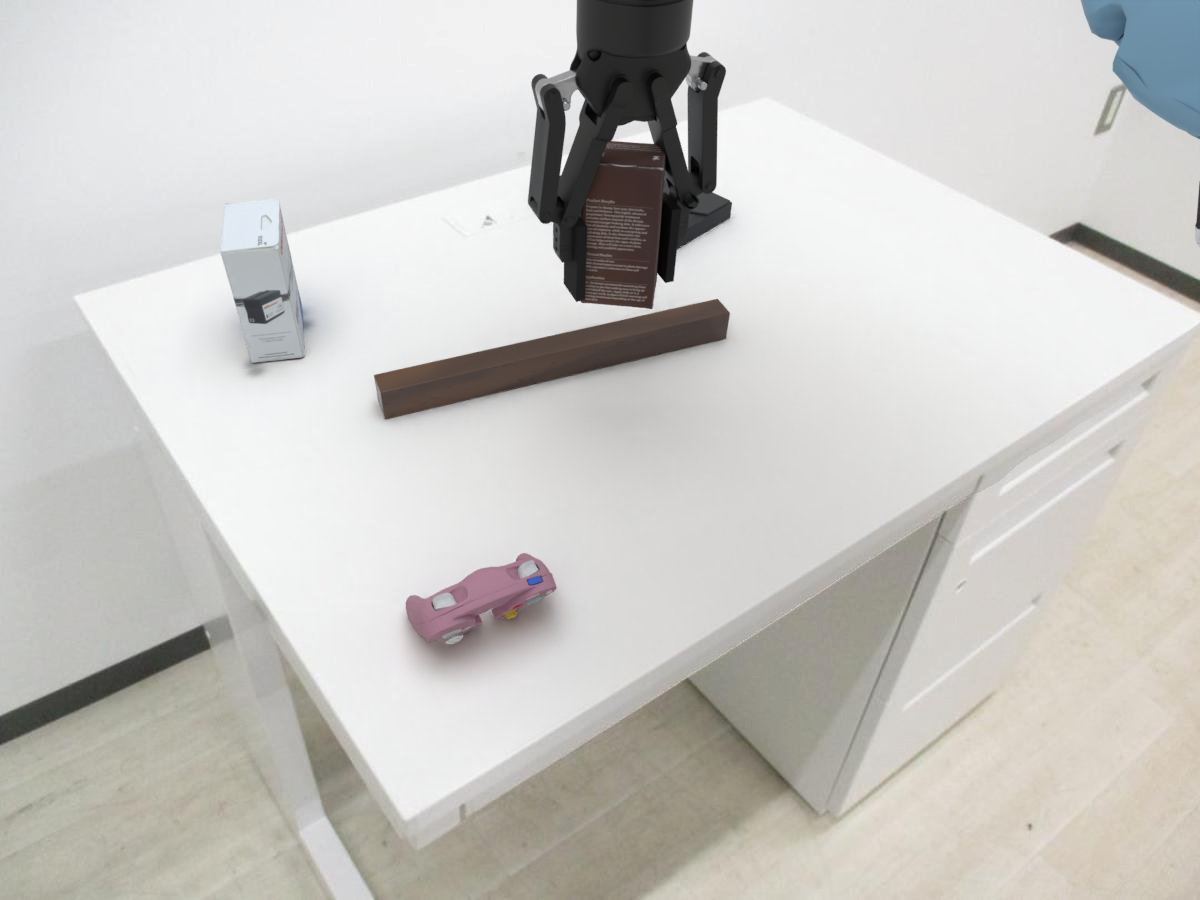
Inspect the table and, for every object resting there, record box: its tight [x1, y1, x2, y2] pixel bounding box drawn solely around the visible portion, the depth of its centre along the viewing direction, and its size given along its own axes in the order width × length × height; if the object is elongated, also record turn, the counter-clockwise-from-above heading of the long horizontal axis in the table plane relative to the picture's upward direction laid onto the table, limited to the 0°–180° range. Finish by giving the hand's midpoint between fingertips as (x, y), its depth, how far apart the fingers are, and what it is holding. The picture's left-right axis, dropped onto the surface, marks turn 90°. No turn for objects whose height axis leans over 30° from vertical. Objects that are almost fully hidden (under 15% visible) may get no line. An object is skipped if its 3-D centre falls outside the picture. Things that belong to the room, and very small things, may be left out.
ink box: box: [219, 198, 306, 363], centre depth 85 cm, size 8×5×12 cm, turn 13°
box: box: [580, 140, 665, 310], centre depth 72 cm, size 6×4×12 cm
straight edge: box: [373, 298, 731, 420], centre depth 85 cm, size 2×33×3 cm, turn 113°
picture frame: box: [559, 174, 733, 250], centre depth 107 cm, size 13×2×18 cm
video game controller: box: [405, 552, 558, 645], centre depth 64 cm, size 10×5×7 cm, turn 118°
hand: (619, 281), depth 76 cm, fingers closed on box, 7 cm apart
